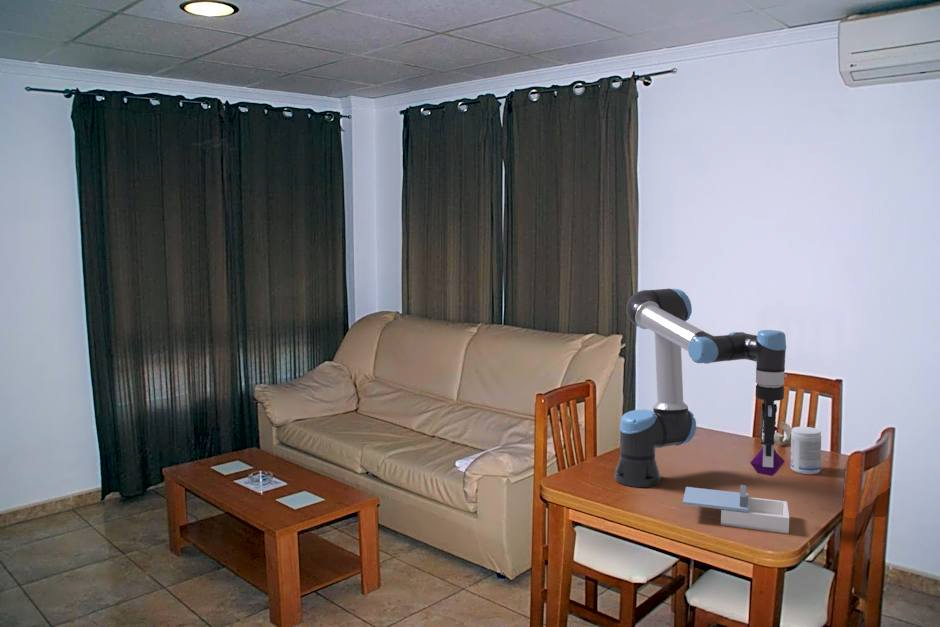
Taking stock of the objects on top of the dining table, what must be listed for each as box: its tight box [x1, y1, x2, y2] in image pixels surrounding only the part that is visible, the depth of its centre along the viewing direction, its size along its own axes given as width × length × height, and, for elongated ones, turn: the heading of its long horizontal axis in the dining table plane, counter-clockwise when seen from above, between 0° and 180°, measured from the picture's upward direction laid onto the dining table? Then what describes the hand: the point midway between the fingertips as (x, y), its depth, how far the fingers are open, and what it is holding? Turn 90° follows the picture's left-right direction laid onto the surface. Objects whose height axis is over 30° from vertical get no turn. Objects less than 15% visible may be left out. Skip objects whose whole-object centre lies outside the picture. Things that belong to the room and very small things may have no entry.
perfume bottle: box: [750, 420, 785, 477], centre depth 207 cm, size 8×8×18 cm
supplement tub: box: [790, 426, 822, 475], centre depth 252 cm, size 10×10×15 cm
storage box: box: [720, 496, 790, 534], centre depth 211 cm, size 18×13×4 cm
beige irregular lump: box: [774, 421, 792, 447], centre depth 283 cm, size 9×6×10 cm
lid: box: [682, 484, 749, 512], centre depth 214 cm, size 18×13×4 cm
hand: (767, 461), depth 208 cm, fingers closed on perfume bottle, 9 cm apart
